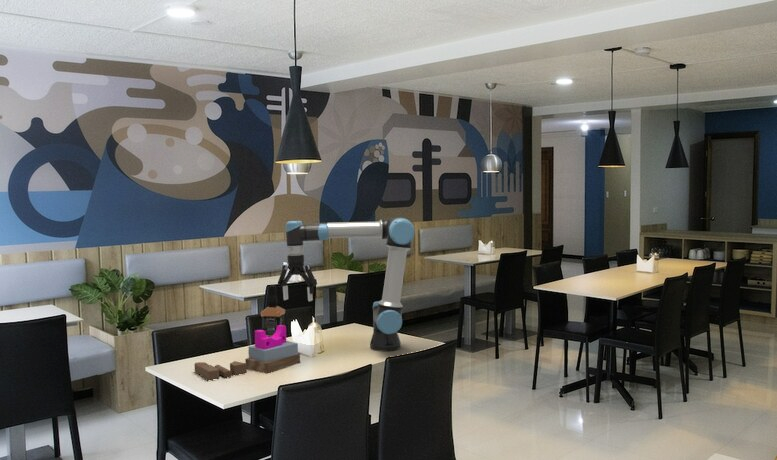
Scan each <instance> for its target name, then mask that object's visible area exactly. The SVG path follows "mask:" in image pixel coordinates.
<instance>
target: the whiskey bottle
mask: <svg viewBox="0 0 777 460" xmlns="http://www.w3.org/2000/svg"><path fill="white" fill-rule="evenodd" d="M267 290H268V298H267V304H268V306H267V307H265V308H264V309H263V310H261V311H260V316H261V330H264V331H265V333H266V335H267V337H272V336H273V335H274V333H275V332H276V329H277V326H278V325H284V326H286V323H285V321H286V320H285V314H286V309H285V308H283V307H281V306H279V305H278V301H279V300H278V296H277V286H276V285H273V284H272V285H268V289H267Z"/></svg>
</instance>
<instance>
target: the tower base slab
mask: <svg viewBox="0 0 777 460" xmlns="http://www.w3.org/2000/svg"><path fill="white" fill-rule="evenodd" d="M244 363H246V364H247V370H248V369H250V370H249V371H253V370H254V372H258V371H259V373H263V372H264V373H265V374H268V373H269V374H272V373H275V372H278V371H281V370H283V369H286V368H289V367H292V366H295V365H298V364H301V354H300V353H299V352H298V354H297V355H293V356H289V357H285V358H281V359H277V360H273V361H269V362H262V361H258V360H255V359H251V358H249V357H247V358H245V362H244ZM274 371H275V372H274ZM271 372H272V373H271ZM264 373H263V374H264Z"/></svg>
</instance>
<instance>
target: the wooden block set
mask: <svg viewBox="0 0 777 460" xmlns="http://www.w3.org/2000/svg"><path fill="white" fill-rule="evenodd" d="M194 372H195V373H196V374H198V375H199V374H200V375H199V376H200V377H201V376H202V378H203V377H204V378H203V379H205V380H206V379H207V380H206V381H208V380H212V381H214V380H213V379H217V380H220V376H222V377H224V378H226V377H229V378H231V377H232V376H234V375H237V376H240V375H239V374H242V375H246V374H245V373H248V369H247V364H246V363H245V362H241V361H240V362H239V361H235V360H234V361H232V362H230V363H229V369H228V368H227V367H224V366H222V365H220V364H216V365H212V364H208V363H207V362H204V361H203V362H201V361H200V362H194ZM232 374H233V375H232Z"/></svg>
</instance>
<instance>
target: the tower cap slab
mask: <svg viewBox="0 0 777 460" xmlns="http://www.w3.org/2000/svg"><path fill="white" fill-rule="evenodd" d="M298 353H299V344H298V343H297V342H293V341H289V340H286V342H285V343H282V345H280V346H277V347H273V348H269V349H265V350H264V349H259V348H255V344H254V345H250V346H248V358H251V359H255V360H258V361H262V362H269V361H273V360H277V359H281V358H285V357H289V356H293V355H297V354H298Z"/></svg>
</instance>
